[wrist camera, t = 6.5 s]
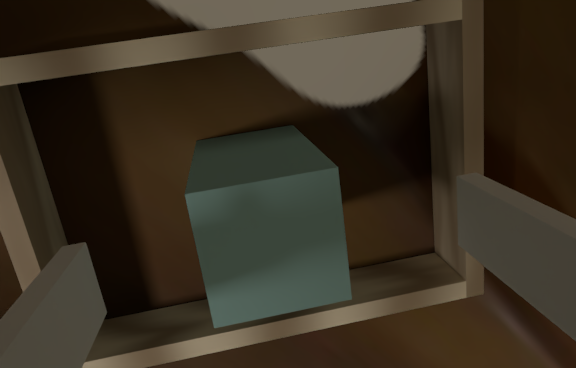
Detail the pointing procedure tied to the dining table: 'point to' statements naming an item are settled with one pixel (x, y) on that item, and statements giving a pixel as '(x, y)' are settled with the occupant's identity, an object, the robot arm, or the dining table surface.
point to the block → (267, 225)
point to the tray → (364, 281)
